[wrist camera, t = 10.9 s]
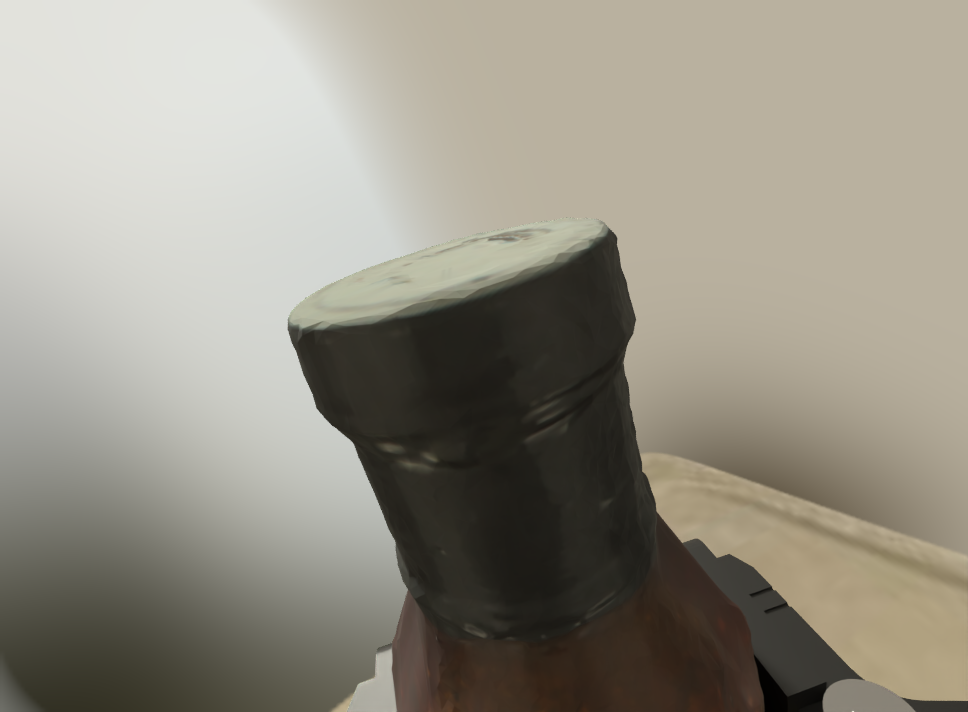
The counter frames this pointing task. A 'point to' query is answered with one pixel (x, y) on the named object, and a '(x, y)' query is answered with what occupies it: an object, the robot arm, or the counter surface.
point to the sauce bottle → (519, 481)
